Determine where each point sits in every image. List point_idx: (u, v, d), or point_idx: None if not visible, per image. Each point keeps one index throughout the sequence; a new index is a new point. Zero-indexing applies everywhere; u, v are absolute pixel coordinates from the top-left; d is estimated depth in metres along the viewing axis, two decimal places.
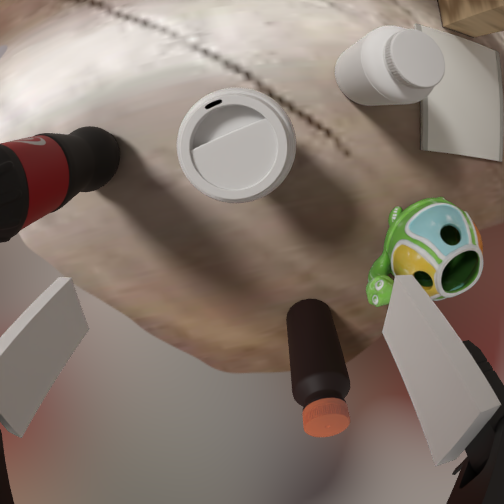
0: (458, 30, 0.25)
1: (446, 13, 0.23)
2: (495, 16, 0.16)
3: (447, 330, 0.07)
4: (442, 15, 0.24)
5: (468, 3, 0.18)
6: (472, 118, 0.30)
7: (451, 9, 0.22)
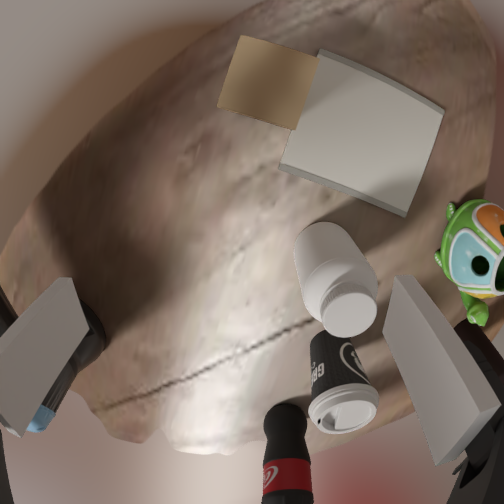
0: None
1: None
2: None
3: (447, 330, 0.07)
4: None
5: None
6: (395, 138, 0.32)
7: None
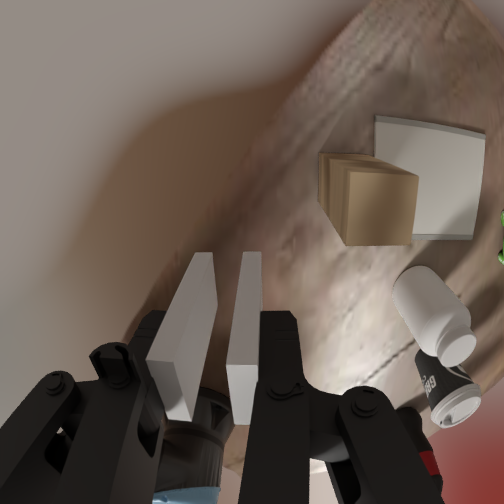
0: None
1: None
2: None
3: (252, 295, 0.10)
4: None
5: None
6: (453, 178, 0.33)
7: None
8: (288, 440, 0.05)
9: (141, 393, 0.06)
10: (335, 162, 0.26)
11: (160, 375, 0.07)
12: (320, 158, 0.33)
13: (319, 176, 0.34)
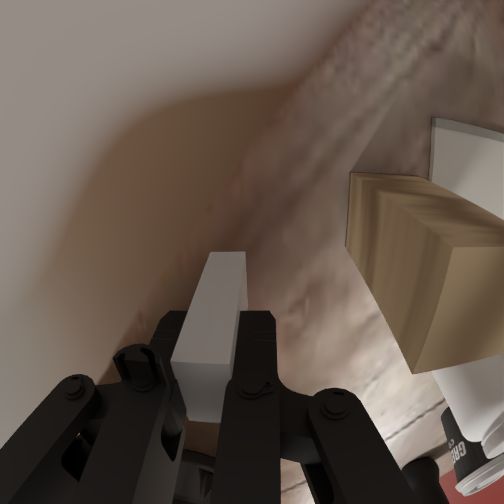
0: None
1: None
2: None
3: (232, 295, 0.10)
4: None
5: None
6: None
7: None
8: (259, 439, 0.05)
9: (166, 397, 0.06)
10: (397, 204, 0.13)
11: (184, 377, 0.07)
12: (354, 182, 0.20)
13: (350, 210, 0.22)
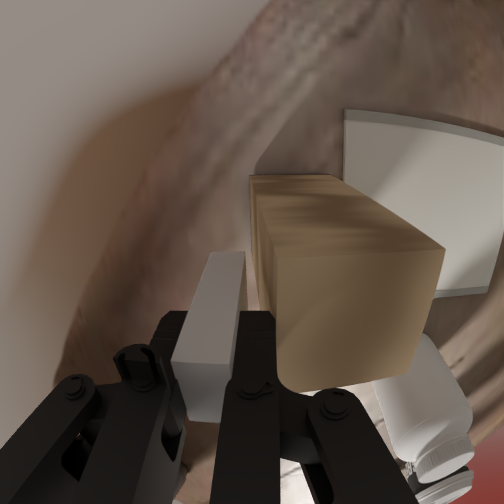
0: None
1: None
2: None
3: (232, 295, 0.10)
4: None
5: None
6: (469, 208, 0.21)
7: None
8: (258, 439, 0.05)
9: (166, 397, 0.06)
10: (261, 208, 0.13)
11: (185, 377, 0.07)
12: (250, 186, 0.20)
13: None
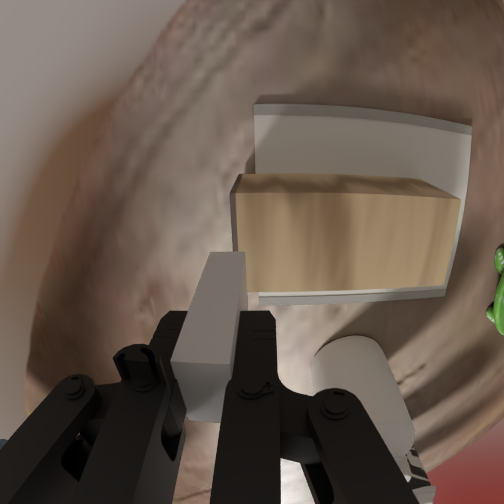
0: None
1: None
2: None
3: (232, 295, 0.10)
4: None
5: None
6: None
7: None
8: (259, 439, 0.05)
9: (166, 397, 0.06)
10: (391, 194, 0.15)
11: (184, 376, 0.07)
12: (253, 203, 0.16)
13: (245, 243, 0.17)
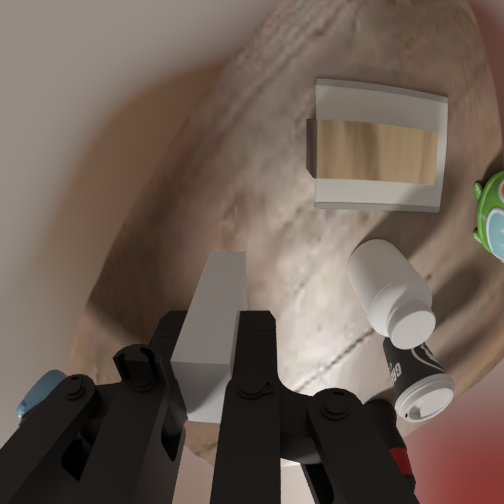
0: None
1: None
2: None
3: (232, 295, 0.10)
4: None
5: None
6: None
7: None
8: (259, 439, 0.05)
9: (166, 397, 0.06)
10: (398, 126, 0.26)
11: (184, 377, 0.07)
12: (326, 125, 0.27)
13: (321, 147, 0.28)
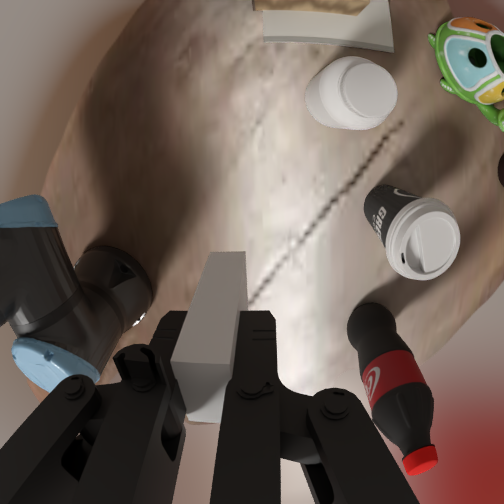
0: None
1: (266, 5, 0.28)
2: None
3: (232, 295, 0.10)
4: (257, 5, 0.28)
5: (312, 6, 0.28)
6: None
7: (278, 4, 0.28)
8: (259, 439, 0.05)
9: (166, 397, 0.06)
10: None
11: (184, 376, 0.07)
12: None
13: None
